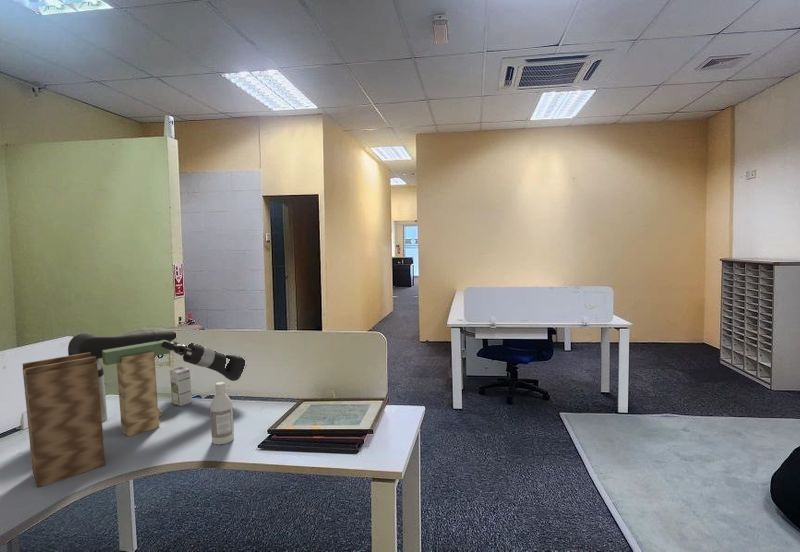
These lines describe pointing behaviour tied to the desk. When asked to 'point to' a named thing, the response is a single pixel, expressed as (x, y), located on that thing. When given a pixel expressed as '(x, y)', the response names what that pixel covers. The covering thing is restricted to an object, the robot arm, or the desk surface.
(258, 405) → the desk surface
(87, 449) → the brown patterned box
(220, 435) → the bath foam
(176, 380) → the syrup box
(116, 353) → the sage green plank
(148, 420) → the block
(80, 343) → the robot arm
